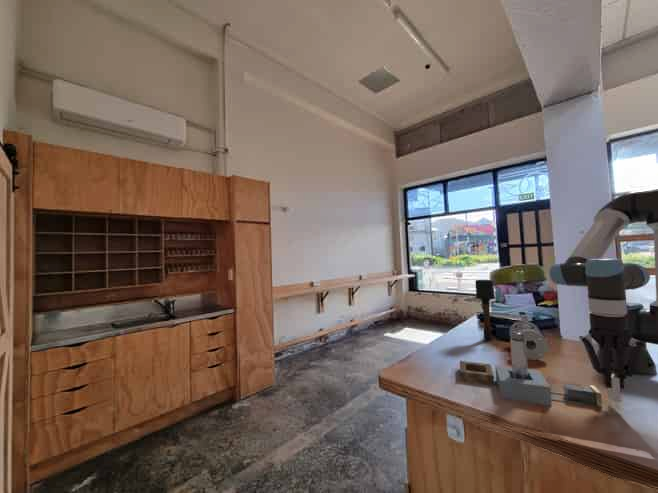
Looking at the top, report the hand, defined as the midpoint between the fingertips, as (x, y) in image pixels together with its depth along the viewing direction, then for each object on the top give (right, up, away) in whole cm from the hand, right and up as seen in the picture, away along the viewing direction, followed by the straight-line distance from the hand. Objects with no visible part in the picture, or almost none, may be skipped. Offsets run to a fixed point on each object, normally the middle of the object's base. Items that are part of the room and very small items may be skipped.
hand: (614, 399), depth 75 cm
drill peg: (-19, -3, +9) cm, 22 cm away
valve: (+9, -4, +45) cm, 46 cm away
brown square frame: (-27, -5, +21) cm, 34 cm away
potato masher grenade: (+1, -5, +62) cm, 62 cm away
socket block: (-16, -4, +7) cm, 18 cm away
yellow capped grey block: (-6, -3, +3) cm, 7 cm away
